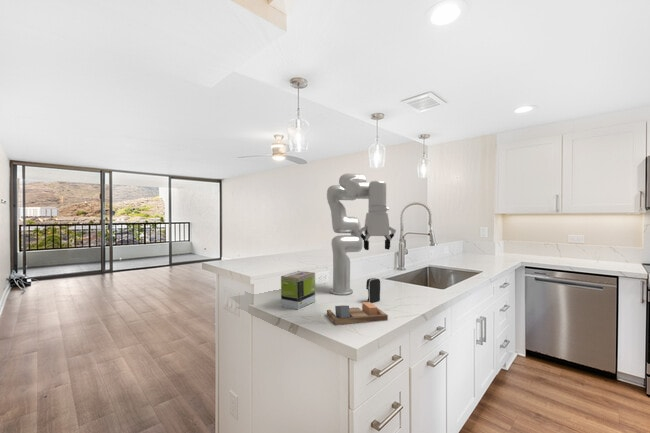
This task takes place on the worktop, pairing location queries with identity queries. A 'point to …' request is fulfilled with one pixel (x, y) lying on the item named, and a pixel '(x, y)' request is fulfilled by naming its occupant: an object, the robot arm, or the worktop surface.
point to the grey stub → (342, 311)
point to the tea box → (297, 289)
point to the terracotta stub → (369, 308)
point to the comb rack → (357, 317)
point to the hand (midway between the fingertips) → (377, 249)
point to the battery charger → (373, 289)
